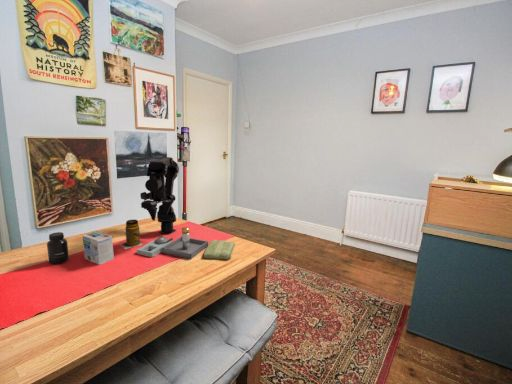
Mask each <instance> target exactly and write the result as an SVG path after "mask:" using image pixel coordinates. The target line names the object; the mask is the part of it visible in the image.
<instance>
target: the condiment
mask: <svg viewBox="0 0 512 384" xmlns="http://www.w3.org/2000/svg"><path fill="white" fill-rule="evenodd" d="M140 233H141V232H140V225H139V221H138V219H129V220H126V221H125V237H126V238H125V240H126V242H122V243H119V245H120V246H121V247H122V248H123V249H124V250H126V249H131V248H133V247H138V246H144V244H143V243H142V242H141V236H140Z"/></svg>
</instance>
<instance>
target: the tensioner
mask: <svg viewBox="0 0 512 384" xmlns="http://www.w3.org/2000/svg"><path fill="white" fill-rule="evenodd" d="M172 241H174V239H173V237H170V238H168V237H164V236H162V235H161V236H159V237H157V238H155V239H154V240H152V241H150V242H148V243H146V244H145V245H142V246H141V247H139V248H137V249H136V253H137V255H142V256H146V257H150V258H153V257H156V256H157V255H158V254H160V253H162V248H163V247H164V246H166V245H168V244H170V243H171V242H172Z"/></svg>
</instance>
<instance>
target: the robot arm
mask: <svg viewBox="0 0 512 384" xmlns="http://www.w3.org/2000/svg"><path fill="white" fill-rule="evenodd" d="M179 172H180V167H179V164H178V163H177V162H176V161H175V160H174V159H173V157H171V156H170V157H169V156H168V157H166V156H164V157H162V158H161V159H159V160H151V161H150V162H149V164H148V167H147V172H146V177H148V178H149V179H147V180H146V182H145V185H144V186H145V189H146V191H149V192H146V191H144V192H140V199H141V200H143V201H141V203H140V207H141V208H143V209H144V210H146V211H147V212H148V214H149V216H150V218H151V220H152V221H156V218H157V222H158V223H160V231H158V233H160V234H165V235H170V234H172V233H174V232H176V230H177V229H174V223H175V222H177V216H176V213H175V210H174V208H173V204H174V203H175V201H176V196H175V195H174V194H173V193H174V183H175V180H176V178H178V174H179ZM158 204H159V205H158ZM160 204H161V205H160ZM157 206H158V207H157Z"/></svg>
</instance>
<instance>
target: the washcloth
mask: <svg viewBox="0 0 512 384" xmlns="http://www.w3.org/2000/svg"><path fill="white" fill-rule="evenodd" d="M235 245H236V243H235V242H234V241H227V240H223V239H222V240H216V239H212V240H211V241H209V242H208V246H207V247H206V248H205V249H204V253H203V258H204V259H212V260H216V259H218V260H227V261H228V260H230V259H232V254H233V250H234V247H235Z"/></svg>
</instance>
